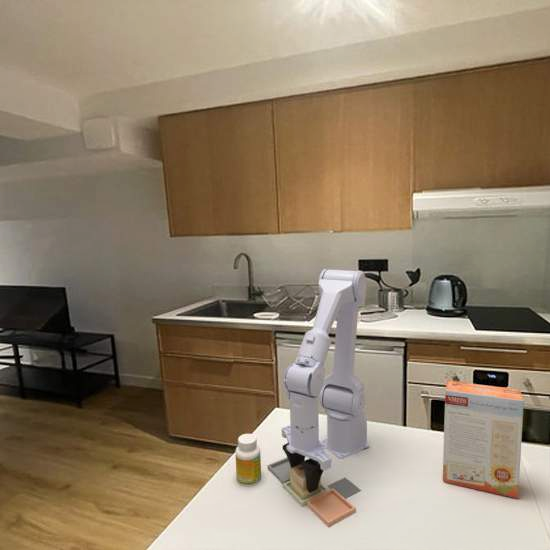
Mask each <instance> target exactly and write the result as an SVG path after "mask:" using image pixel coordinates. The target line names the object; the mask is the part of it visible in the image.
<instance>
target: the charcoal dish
mask: <svg viewBox="0 0 550 550" xmlns="http://www.w3.org/2000/svg"><path fill="white" fill-rule="evenodd" d="M266 467H267V470H268V471H269V472H270V473H271V474H272V475H273V476H274V477H275V478H276V479H277V480H278V481H279V483H281V484H282V485H283V483H286V482H288V481H290V468H291V466H290V463H289V460H288V458H287V457H284V458H282V459H280V460H279V459H278V460H277V461H274V462H272V463H270V464H268V465H267V466H266Z"/></svg>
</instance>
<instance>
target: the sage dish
mask: <svg viewBox="0 0 550 550" xmlns="http://www.w3.org/2000/svg"><path fill="white" fill-rule="evenodd" d="M282 488H283V489H284V490H285V492H287V493H288V494H289V495H290V496H291V497H292V499H293V500H294V501H295V502H297V503H298V505H300V507H304V506H307V505H306V501H308V500H310V499H312V498H314V497H316V496H318V495H320V494H322V493H324V492H326V491H328V490H330V488H328V487H326V486H325V485H324V484H323V483H322V482H321V492H319V493H317V494H315V495H313V496H311V497H309V498H307V499H305V500H302V499H301V498H300V497H299V496H298V495H297V494H296V493H295V492H294V491H293V490H292V489H291V484H290V481H288V482H286V483H283V484H282Z"/></svg>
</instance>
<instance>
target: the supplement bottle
mask: <svg viewBox="0 0 550 550" xmlns="http://www.w3.org/2000/svg"><path fill="white" fill-rule="evenodd" d="M257 441H258V440H257V436H256V435H255V434H252V433H243V434H241V435H240V436H238V438H237V445H238V446H236V448H235V471H236V472H235V473H236V474H235V475H236V482H237V483H238V484H239V485H240V486H243V487H253V486H255V485H258V484H259V483H260V482H261V480H262V461H261V459H262V458H261V448H260V446H259V445H258V443H257Z"/></svg>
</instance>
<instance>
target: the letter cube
mask: <svg viewBox="0 0 550 550" xmlns="http://www.w3.org/2000/svg"><path fill="white" fill-rule="evenodd" d="M321 483H322V479H320V482H319V486H318V489H317V490H315V491H313V492H311V493H310V492H309V491H308V489H307V484H306V476H305V472H304V469H303V467H302V465H301V464H300V465H297V466H295V467H293V468H290V484H291V489H292V490H293V491H294V492H295V493H296V494H297V495H298V496H299V497H300V498H301V499H302V500H305V499H307V498H309V497H311V496H313V495H315V494H317V493H319V492H321Z"/></svg>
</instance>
